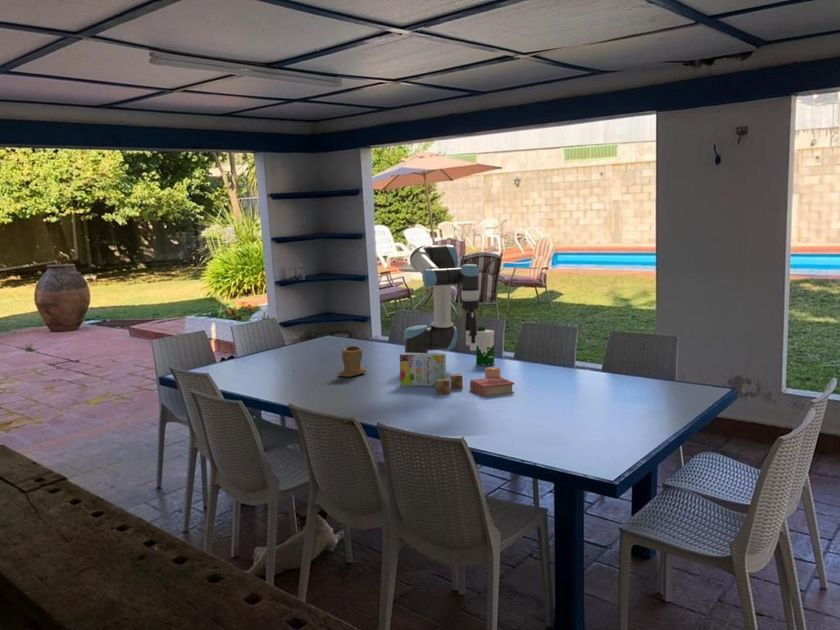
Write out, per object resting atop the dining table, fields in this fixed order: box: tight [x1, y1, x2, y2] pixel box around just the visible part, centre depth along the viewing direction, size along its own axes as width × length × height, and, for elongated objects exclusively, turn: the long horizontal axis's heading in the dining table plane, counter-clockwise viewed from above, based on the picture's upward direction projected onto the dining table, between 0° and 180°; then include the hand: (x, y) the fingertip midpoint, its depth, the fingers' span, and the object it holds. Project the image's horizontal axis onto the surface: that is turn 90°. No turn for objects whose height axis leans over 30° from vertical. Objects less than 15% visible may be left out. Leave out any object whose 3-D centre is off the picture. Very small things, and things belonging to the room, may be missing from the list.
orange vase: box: [337, 345, 368, 378], centre depth 365 cm, size 15×12×15 cm
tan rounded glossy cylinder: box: [484, 366, 501, 378], centre depth 334 cm, size 7×7×8 cm
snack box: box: [399, 352, 447, 387], centre depth 339 cm, size 21×6×15 cm, turn 74°
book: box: [469, 376, 515, 398], centre depth 322 cm, size 14×15×5 cm
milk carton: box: [475, 325, 495, 366], centre depth 384 cm, size 9×9×20 cm
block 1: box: [435, 378, 451, 396], centre depth 322 cm, size 5×5×6 cm
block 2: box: [450, 373, 464, 390], centre depth 332 cm, size 5×5×6 cm
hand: (471, 347), depth 319 cm, fingers open, 13 cm apart
